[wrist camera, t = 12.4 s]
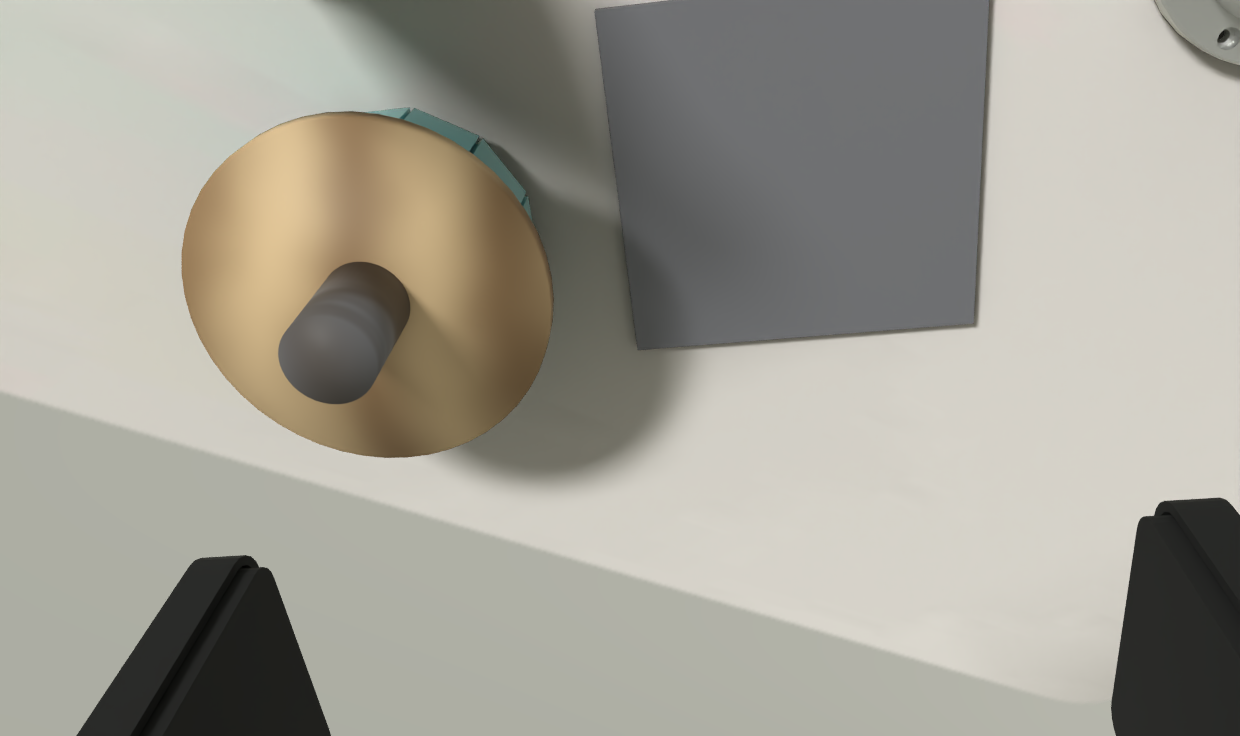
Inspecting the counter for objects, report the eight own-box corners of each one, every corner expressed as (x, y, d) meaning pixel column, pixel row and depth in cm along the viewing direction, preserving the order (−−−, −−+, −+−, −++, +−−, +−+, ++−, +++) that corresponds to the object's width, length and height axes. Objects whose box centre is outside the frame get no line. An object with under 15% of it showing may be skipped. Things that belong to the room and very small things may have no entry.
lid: (520, 90, 38) (493, 136, 32) (577, 433, 45) (562, 516, 39) (140, 132, 39) (55, 182, 34) (252, 456, 46) (197, 538, 41)
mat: (987, -38, 41) (990, -36, 41) (971, 318, 49) (973, 323, 48) (595, 9, 43) (594, 11, 42) (638, 345, 50) (637, 350, 50)
